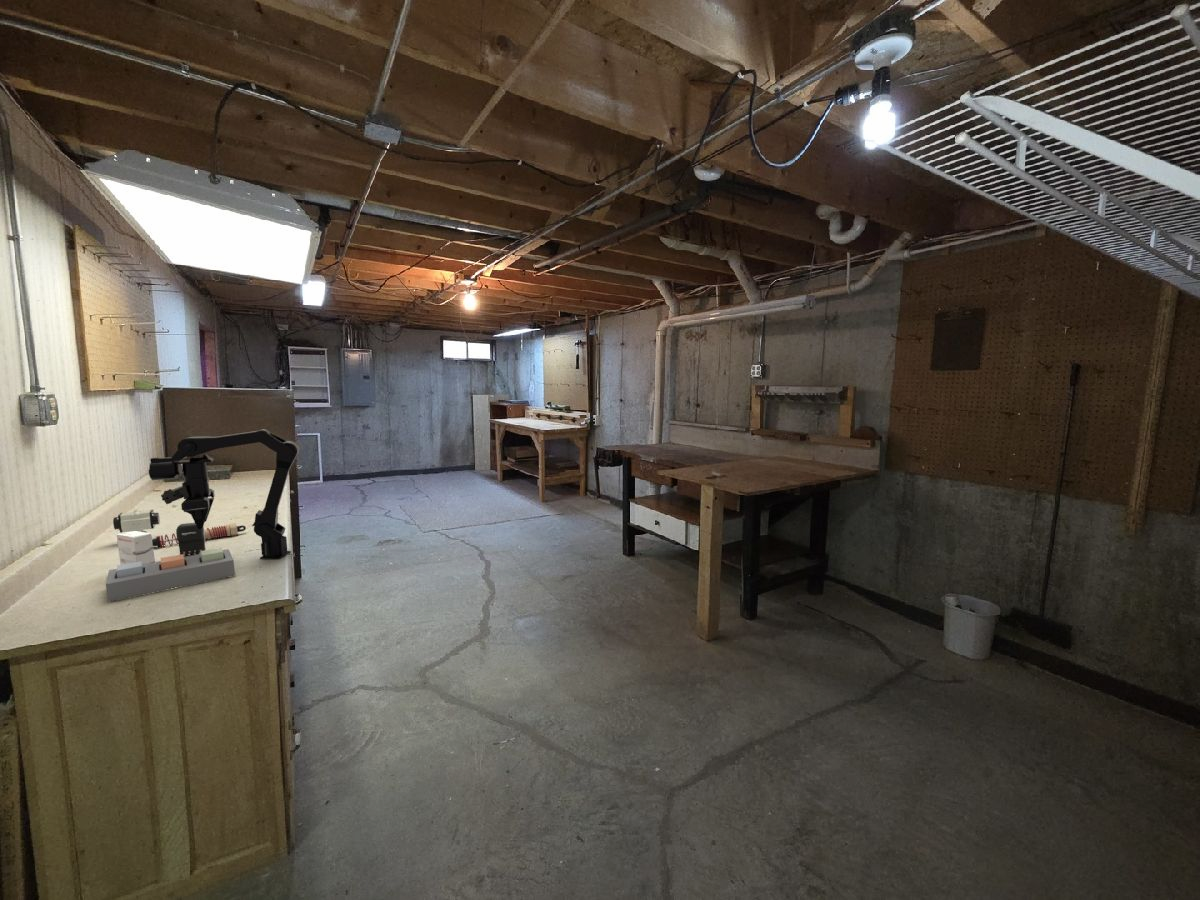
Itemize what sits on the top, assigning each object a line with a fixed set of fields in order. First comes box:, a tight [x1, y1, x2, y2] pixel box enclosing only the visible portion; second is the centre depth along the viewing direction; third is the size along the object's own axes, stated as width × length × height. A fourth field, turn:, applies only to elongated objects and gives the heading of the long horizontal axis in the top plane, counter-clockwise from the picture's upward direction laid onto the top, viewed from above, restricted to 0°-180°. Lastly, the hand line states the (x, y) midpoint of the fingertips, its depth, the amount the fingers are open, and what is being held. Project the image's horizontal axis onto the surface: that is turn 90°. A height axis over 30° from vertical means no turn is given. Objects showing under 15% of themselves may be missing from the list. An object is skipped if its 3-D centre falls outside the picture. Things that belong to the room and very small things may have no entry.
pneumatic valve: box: [112, 509, 161, 534], centre depth 175 cm, size 6×12×12 cm, turn 127°
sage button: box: [201, 547, 224, 562], centre depth 147 cm, size 5×5×4 cm
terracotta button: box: [160, 554, 185, 570], centre depth 141 cm, size 5×5×4 cm
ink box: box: [116, 531, 156, 565], centre depth 149 cm, size 9×5×12 cm, turn 71°
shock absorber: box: [152, 522, 247, 549], centre depth 177 cm, size 5×5×30 cm
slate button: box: [116, 561, 143, 578], centre depth 135 cm, size 5×5×4 cm
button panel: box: [105, 548, 236, 603], centre depth 141 cm, size 27×13×5 cm, turn 133°
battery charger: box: [175, 521, 207, 557], centre depth 161 cm, size 7×4×11 cm, turn 120°
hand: (202, 525), depth 153 cm, fingers open, 9 cm apart
